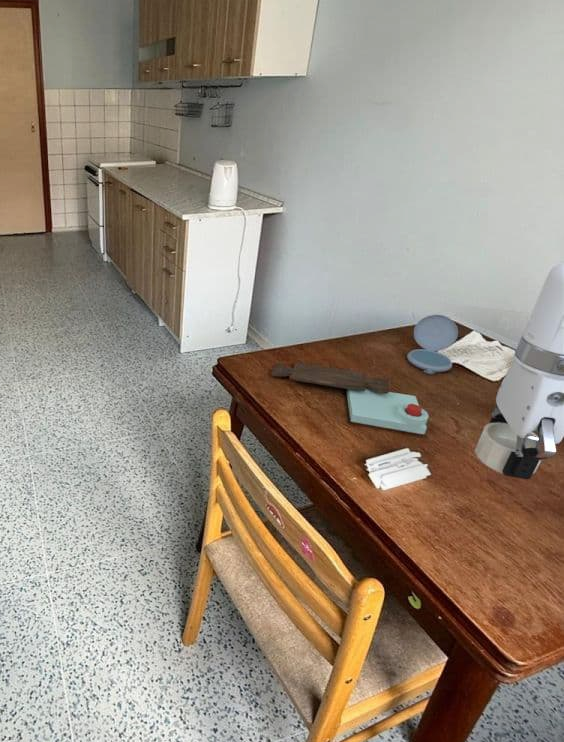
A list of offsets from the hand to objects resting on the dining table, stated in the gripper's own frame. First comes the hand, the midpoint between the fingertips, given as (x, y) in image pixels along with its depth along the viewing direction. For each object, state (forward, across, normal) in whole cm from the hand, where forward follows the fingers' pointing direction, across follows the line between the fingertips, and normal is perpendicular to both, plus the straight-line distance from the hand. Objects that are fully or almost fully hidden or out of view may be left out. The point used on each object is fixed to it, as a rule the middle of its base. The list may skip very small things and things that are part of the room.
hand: (505, 456), depth 71 cm
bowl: (+1, 0, 0) cm, 1 cm away
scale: (+14, +29, +10) cm, 34 cm away
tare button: (+11, +26, +5) cm, 28 cm away
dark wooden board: (+13, +38, +20) cm, 45 cm away
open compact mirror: (+15, +56, -5) cm, 58 cm away
